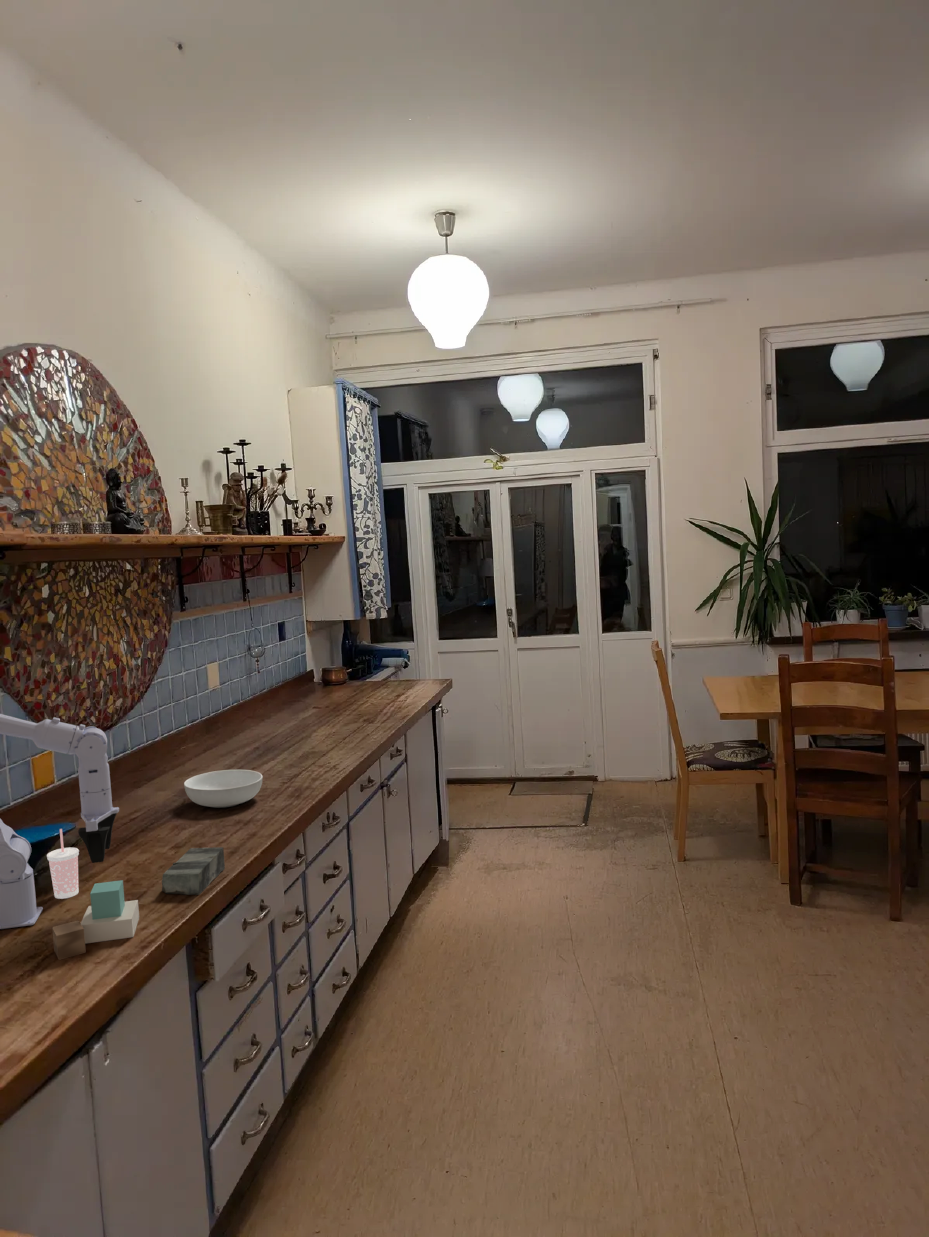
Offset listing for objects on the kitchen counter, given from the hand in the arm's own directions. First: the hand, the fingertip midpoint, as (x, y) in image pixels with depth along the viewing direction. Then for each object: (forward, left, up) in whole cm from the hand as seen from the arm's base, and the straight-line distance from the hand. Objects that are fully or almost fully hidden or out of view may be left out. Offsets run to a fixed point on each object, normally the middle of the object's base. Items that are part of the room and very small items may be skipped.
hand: (101, 855), depth 182 cm
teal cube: (+3, -13, -7) cm, 15 cm away
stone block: (+16, +7, -11) cm, 21 cm away
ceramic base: (+3, -13, -10) cm, 17 cm away
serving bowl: (+21, +65, -11) cm, 69 cm away
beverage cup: (-9, +9, -11) cm, 17 cm away
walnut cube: (-3, -20, -10) cm, 23 cm away
